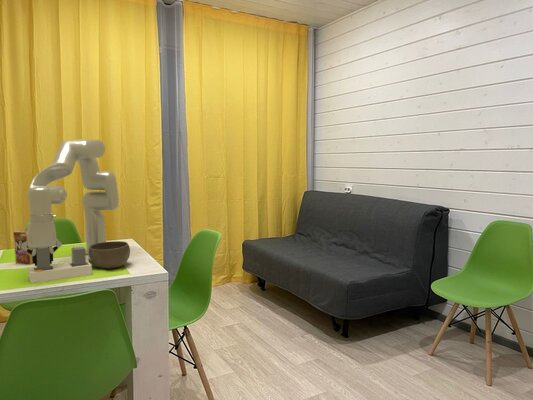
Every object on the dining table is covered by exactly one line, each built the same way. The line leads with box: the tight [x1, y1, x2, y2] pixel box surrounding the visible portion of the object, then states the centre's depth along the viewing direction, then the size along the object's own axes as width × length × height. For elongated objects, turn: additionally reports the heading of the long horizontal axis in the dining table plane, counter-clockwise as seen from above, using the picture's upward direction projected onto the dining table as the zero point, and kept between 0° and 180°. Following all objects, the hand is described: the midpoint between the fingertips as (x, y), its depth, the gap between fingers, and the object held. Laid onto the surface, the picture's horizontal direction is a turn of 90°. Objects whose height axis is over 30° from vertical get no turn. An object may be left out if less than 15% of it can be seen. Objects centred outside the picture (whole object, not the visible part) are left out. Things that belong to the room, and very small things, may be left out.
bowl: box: [87, 240, 131, 270], centre depth 184 cm, size 17×18×10 cm
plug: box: [36, 247, 50, 271], centre depth 162 cm, size 4×4×10 cm
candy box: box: [13, 230, 34, 266], centre depth 187 cm, size 9×4×15 cm, turn 72°
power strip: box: [27, 244, 93, 284], centre depth 166 cm, size 22×10×12 cm, turn 124°
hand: (43, 263), depth 163 cm, fingers closed on plug, 4 cm apart
